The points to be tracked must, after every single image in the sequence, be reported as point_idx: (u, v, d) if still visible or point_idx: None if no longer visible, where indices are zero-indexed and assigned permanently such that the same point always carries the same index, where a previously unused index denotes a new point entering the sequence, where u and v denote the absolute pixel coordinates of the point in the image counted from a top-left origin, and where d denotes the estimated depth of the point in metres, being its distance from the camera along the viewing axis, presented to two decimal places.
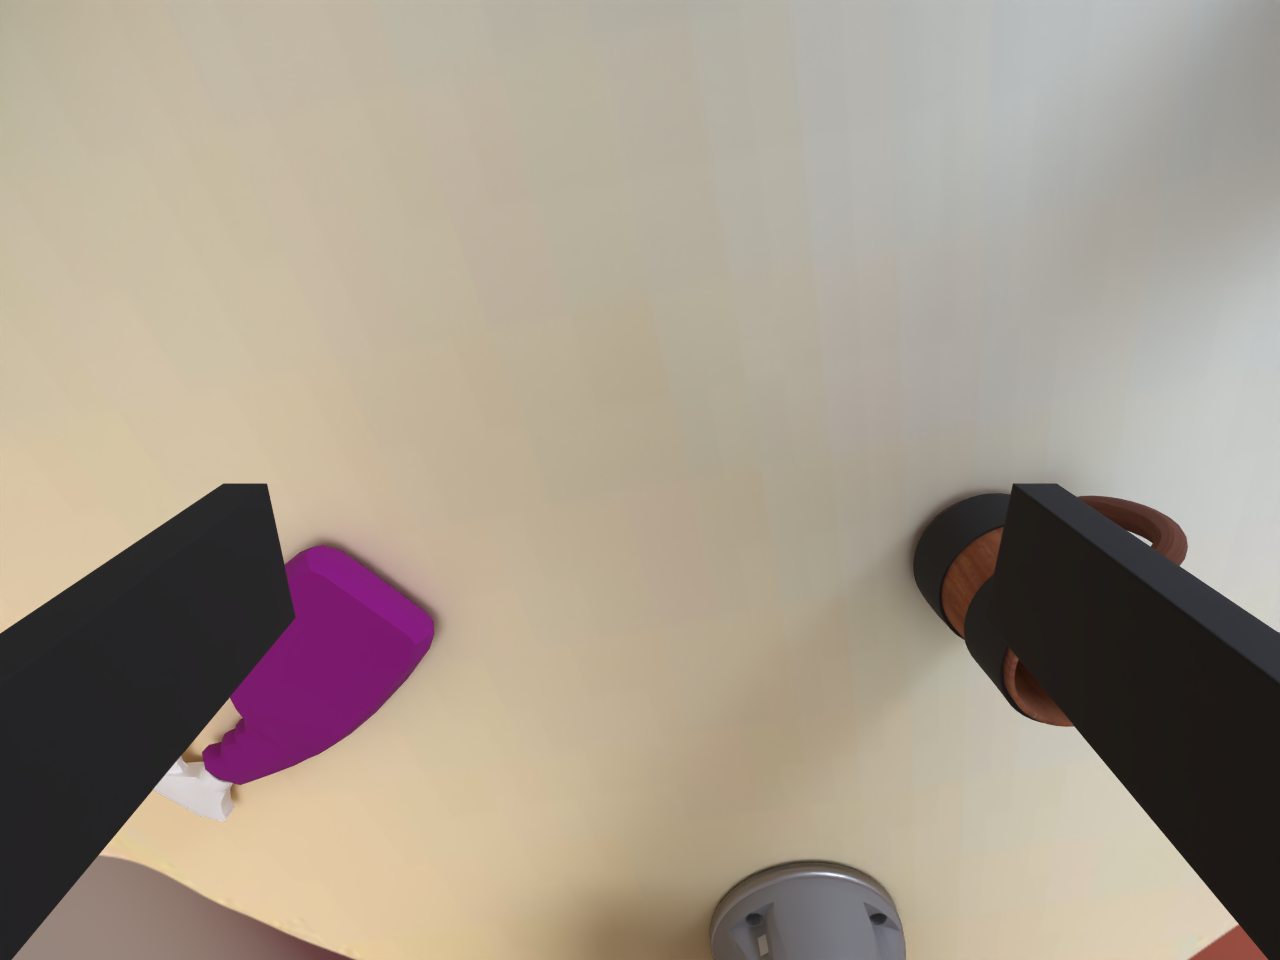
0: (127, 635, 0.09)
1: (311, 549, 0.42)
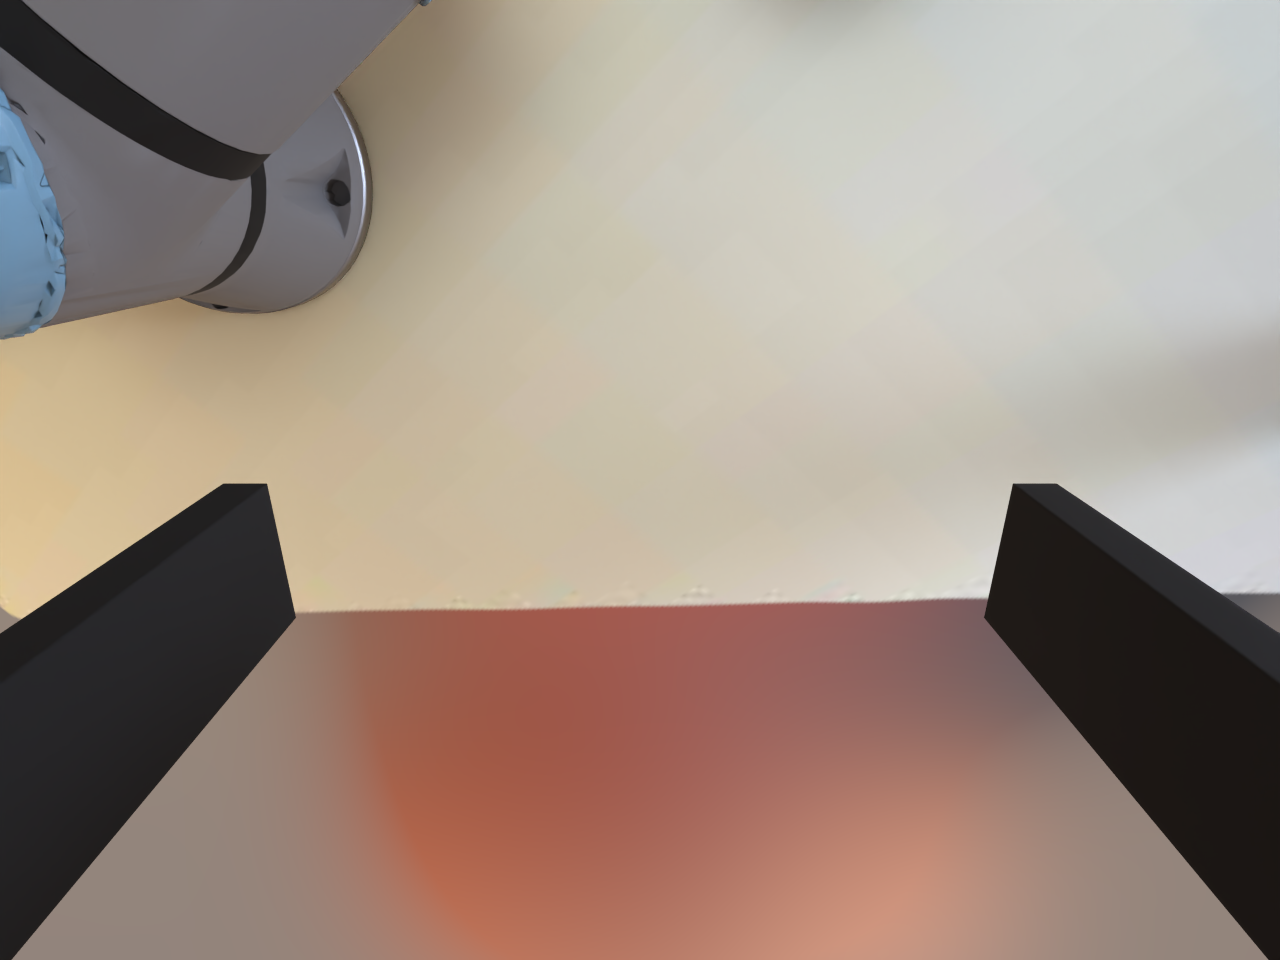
0: (127, 635, 0.09)
1: None
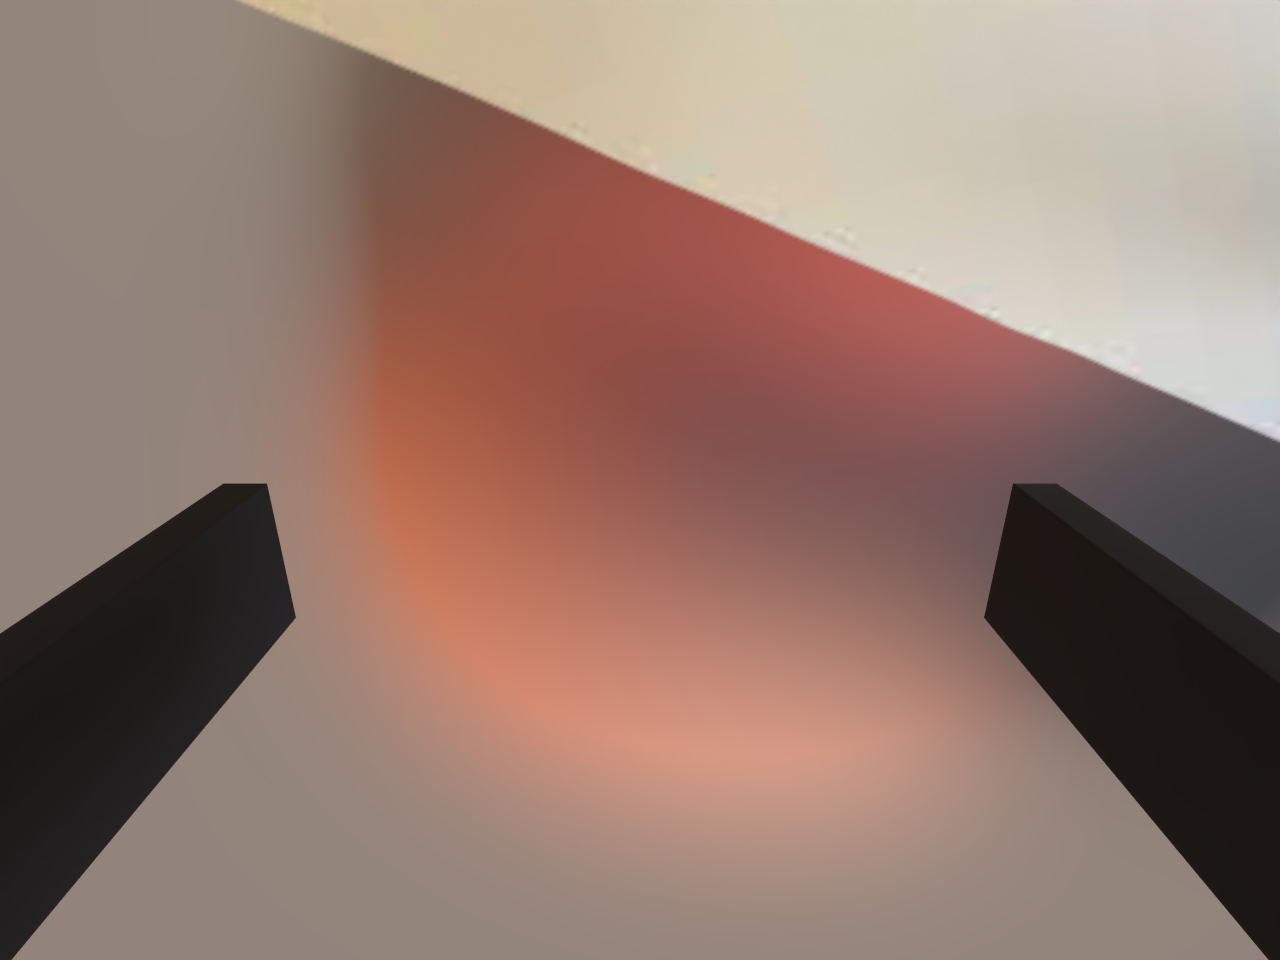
0: (126, 636, 0.09)
1: None
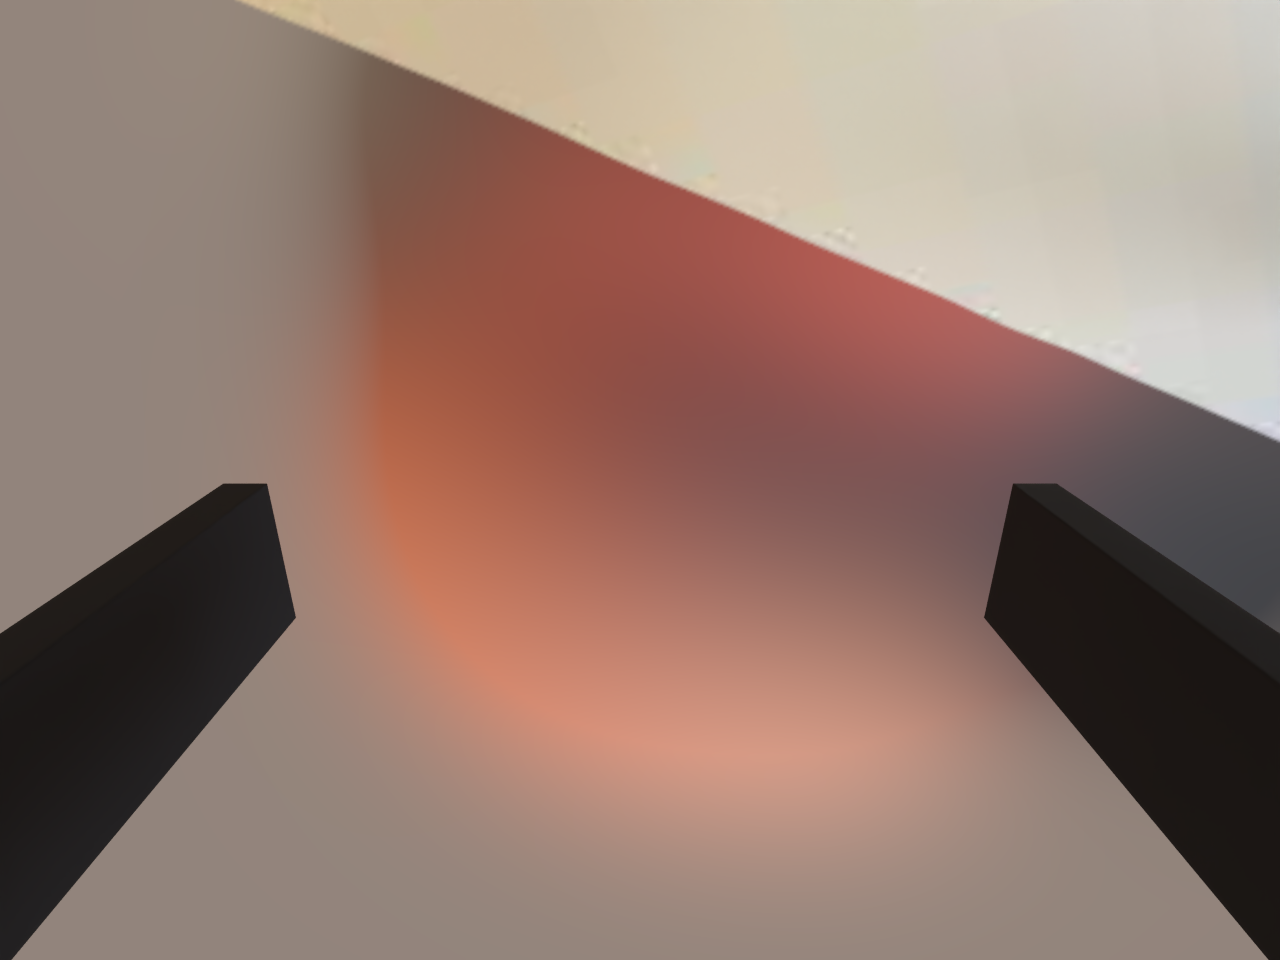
0: (126, 636, 0.09)
1: None
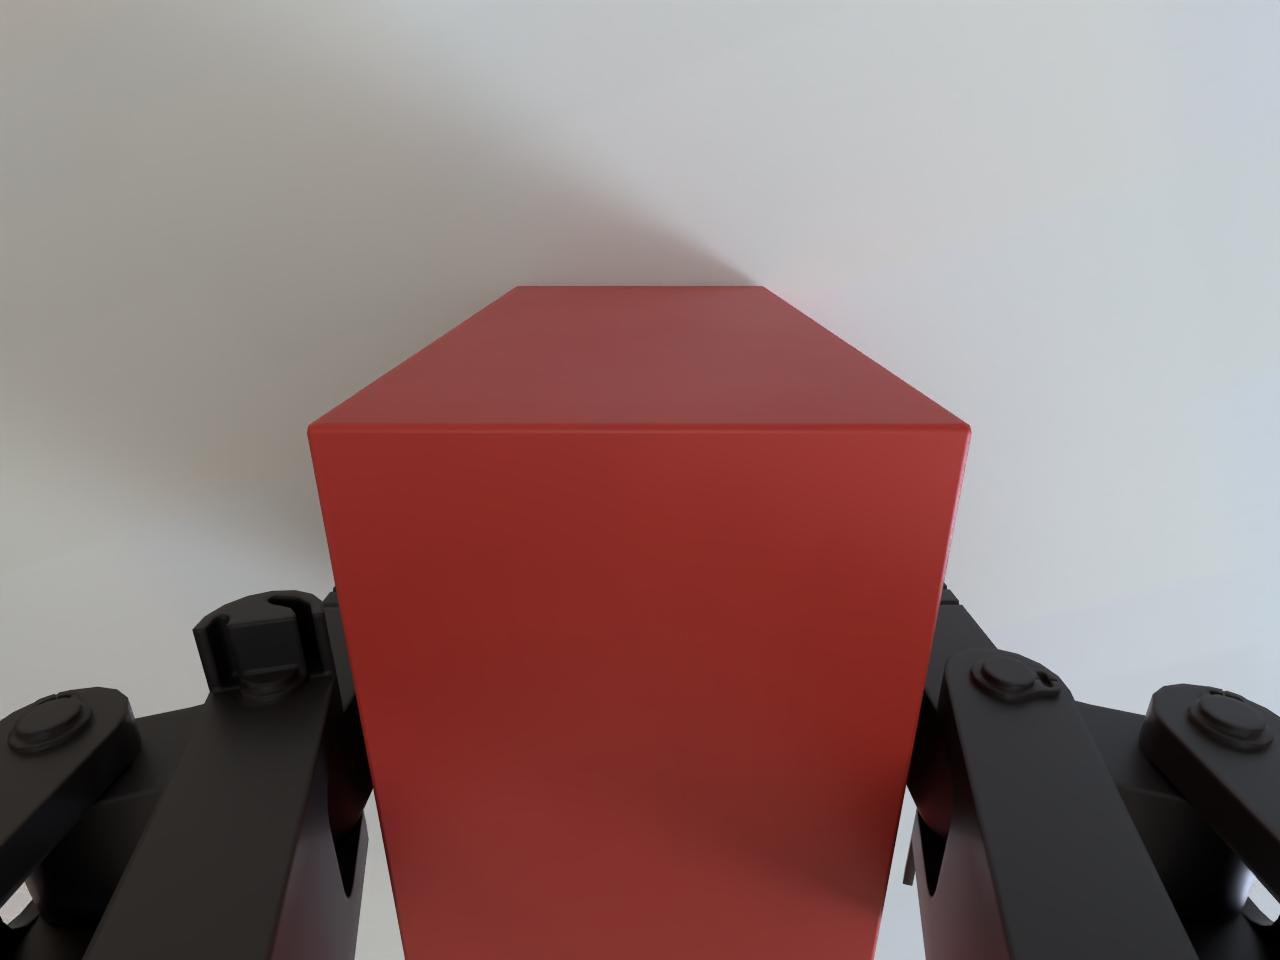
0: None
1: None
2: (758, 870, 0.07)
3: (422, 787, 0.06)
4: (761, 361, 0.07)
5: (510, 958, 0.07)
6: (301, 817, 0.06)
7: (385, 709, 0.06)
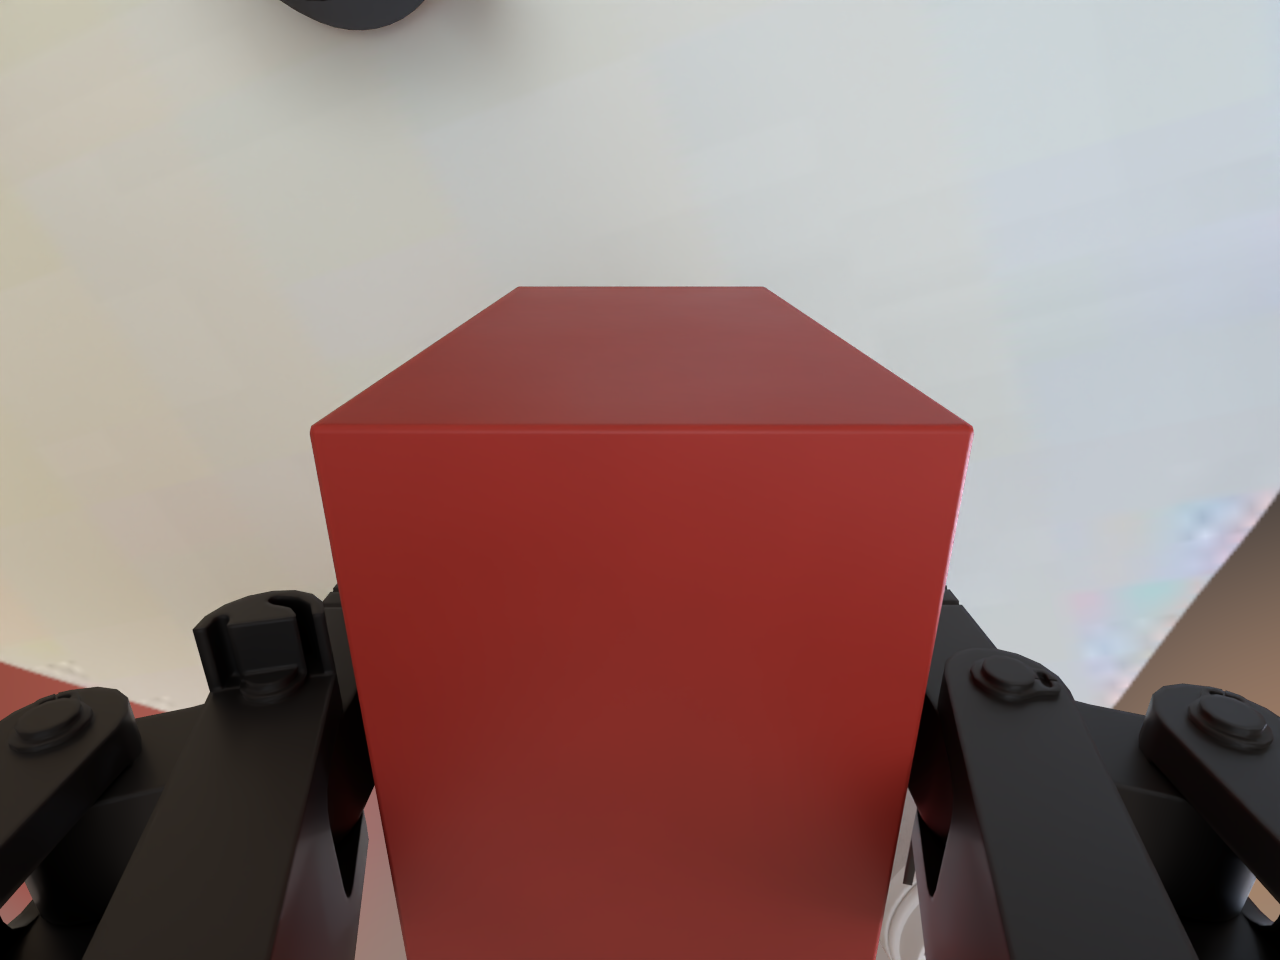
0: None
1: None
2: (760, 871, 0.07)
3: (425, 787, 0.06)
4: (763, 362, 0.07)
5: (512, 957, 0.07)
6: (302, 817, 0.06)
7: (387, 710, 0.06)
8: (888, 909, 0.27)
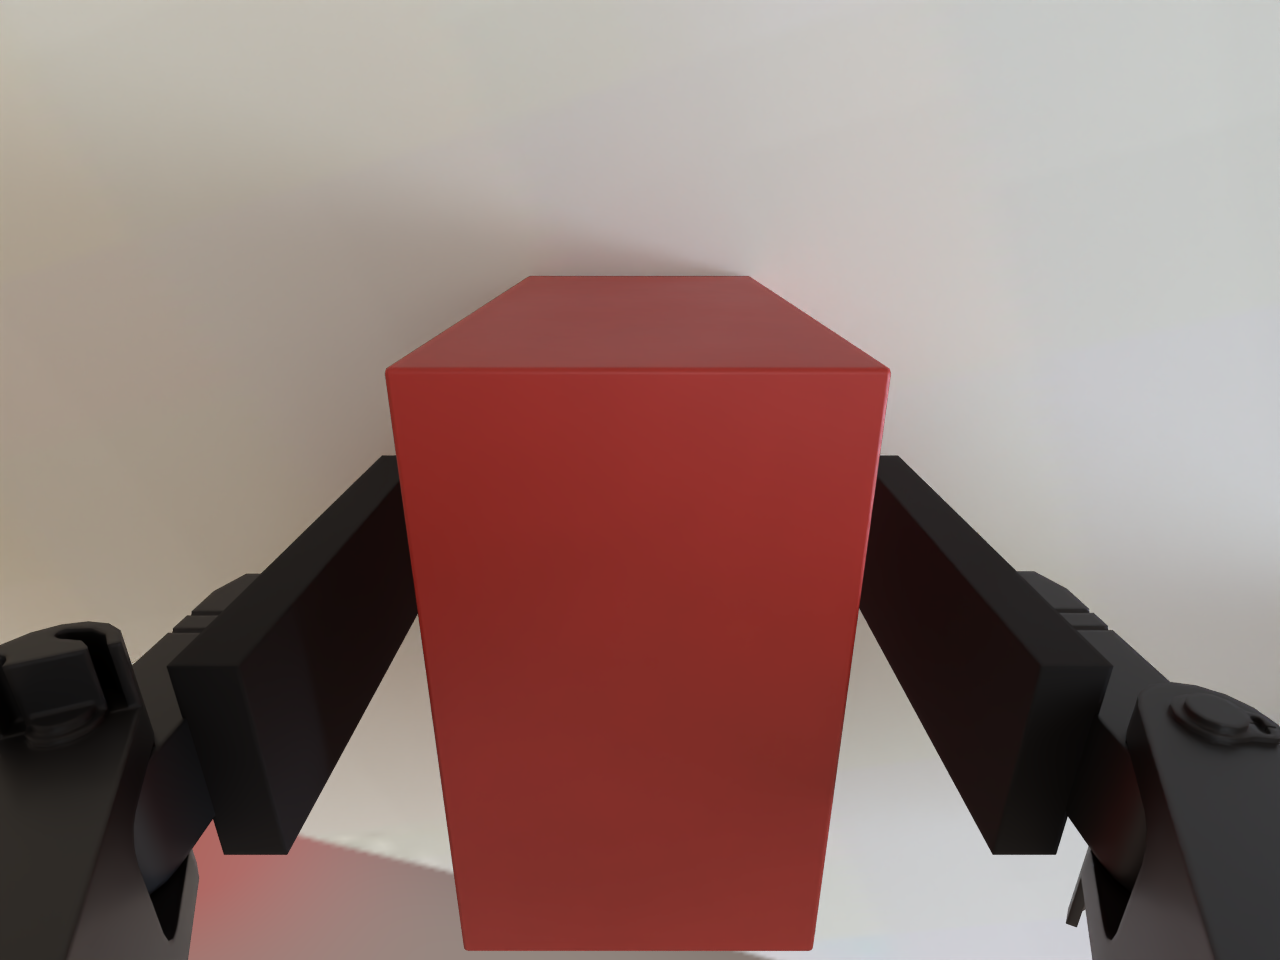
0: (349, 579, 0.10)
1: None
2: (734, 738, 0.09)
3: (465, 666, 0.08)
4: (737, 329, 0.09)
5: (532, 818, 0.09)
6: (95, 859, 0.05)
7: (437, 599, 0.08)
8: None
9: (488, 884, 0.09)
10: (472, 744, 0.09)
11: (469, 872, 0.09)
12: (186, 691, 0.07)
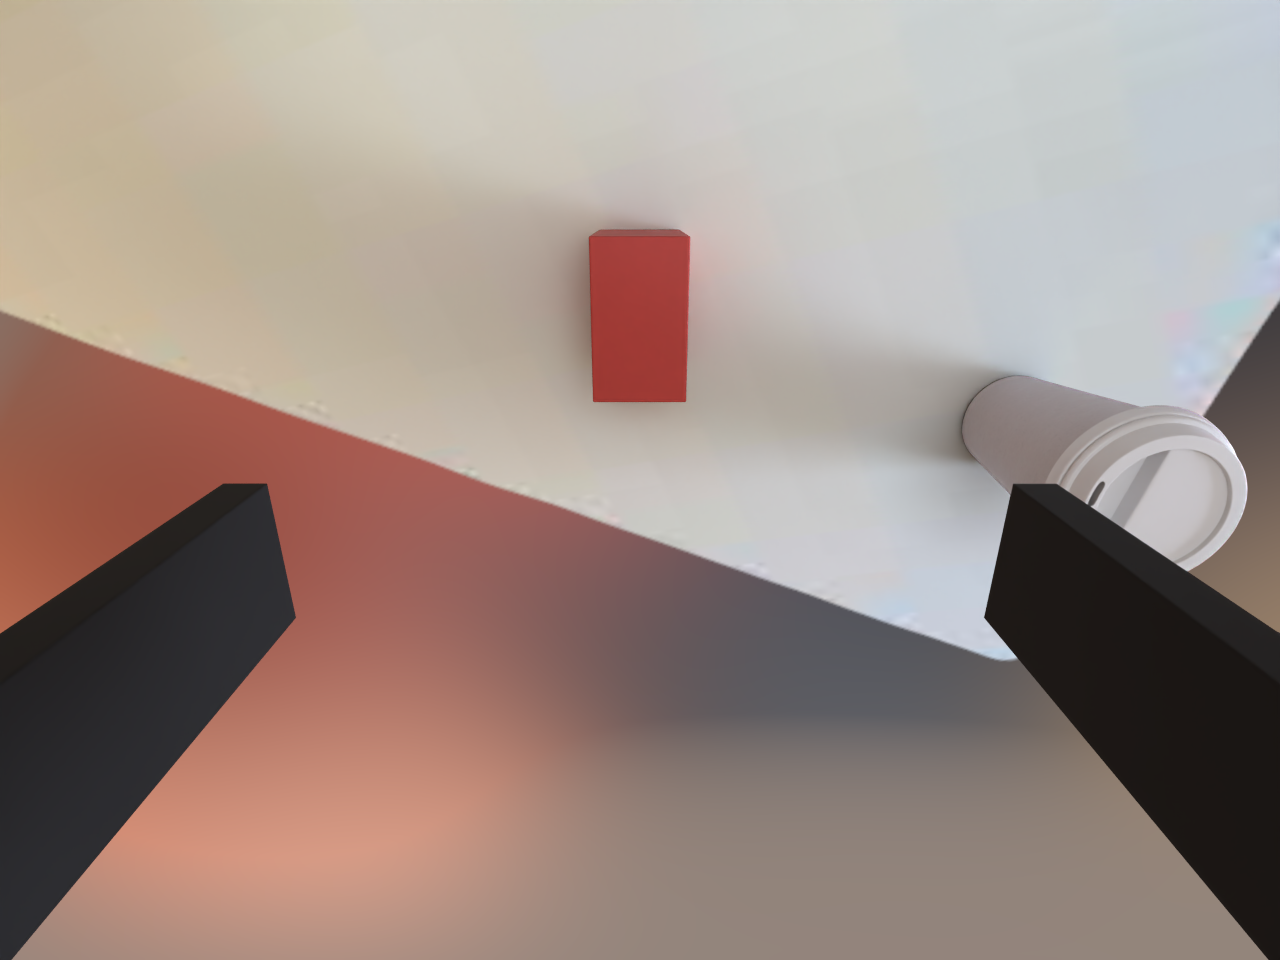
0: (127, 635, 0.09)
1: None
2: (662, 329, 0.36)
3: (600, 308, 0.36)
4: (663, 234, 0.37)
5: (613, 354, 0.37)
6: None
7: (595, 290, 0.35)
8: None
9: (601, 377, 0.37)
10: (600, 331, 0.36)
11: (596, 373, 0.37)
12: None
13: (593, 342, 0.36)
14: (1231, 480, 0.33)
